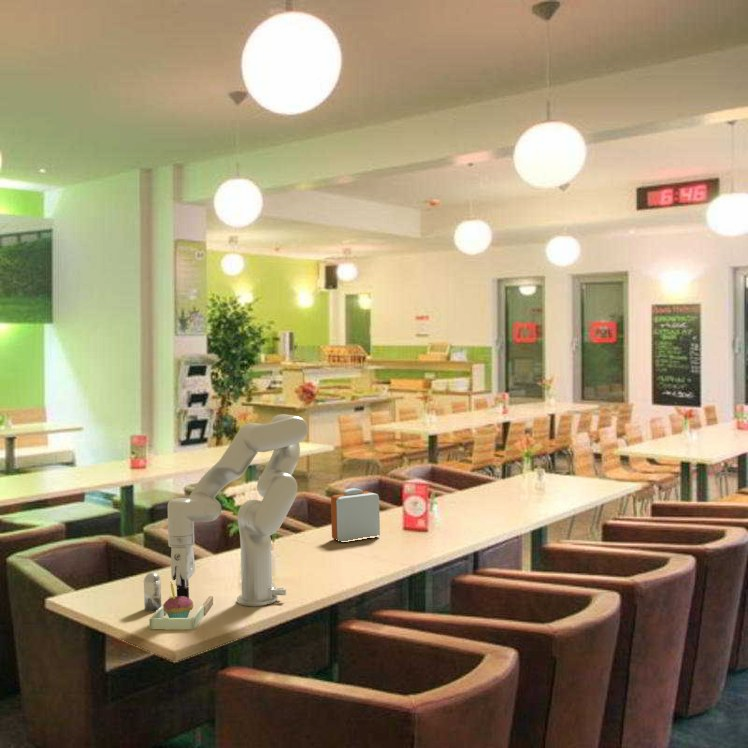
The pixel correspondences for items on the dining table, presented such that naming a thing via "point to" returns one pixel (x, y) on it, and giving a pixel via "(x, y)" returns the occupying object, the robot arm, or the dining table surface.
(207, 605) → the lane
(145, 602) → the glass dome
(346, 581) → the dining table surface
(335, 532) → the grey suitcase
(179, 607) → the cupcake
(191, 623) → the tray
